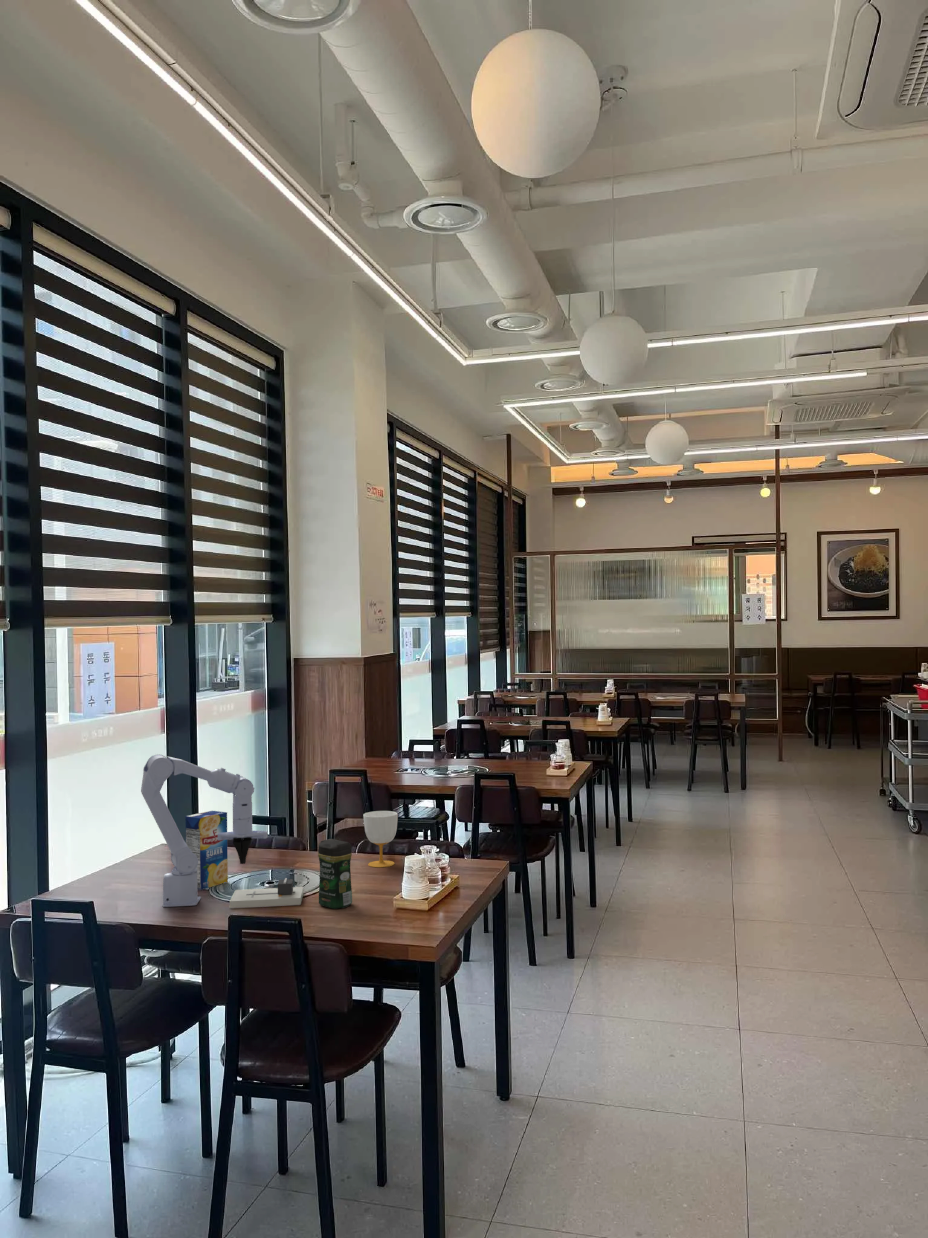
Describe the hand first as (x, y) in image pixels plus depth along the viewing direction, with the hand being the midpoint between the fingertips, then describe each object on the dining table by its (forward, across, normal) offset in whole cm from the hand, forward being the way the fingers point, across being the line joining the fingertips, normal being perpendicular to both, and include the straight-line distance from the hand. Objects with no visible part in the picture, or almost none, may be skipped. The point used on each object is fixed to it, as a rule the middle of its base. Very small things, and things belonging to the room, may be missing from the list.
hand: (242, 863), depth 270 cm
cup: (+10, +42, +30) cm, 52 cm away
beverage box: (+10, -13, +14) cm, 21 cm away
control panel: (+9, +8, -8) cm, 15 cm away
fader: (+7, +13, -8) cm, 17 cm away
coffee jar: (+10, +28, -16) cm, 34 cm away
